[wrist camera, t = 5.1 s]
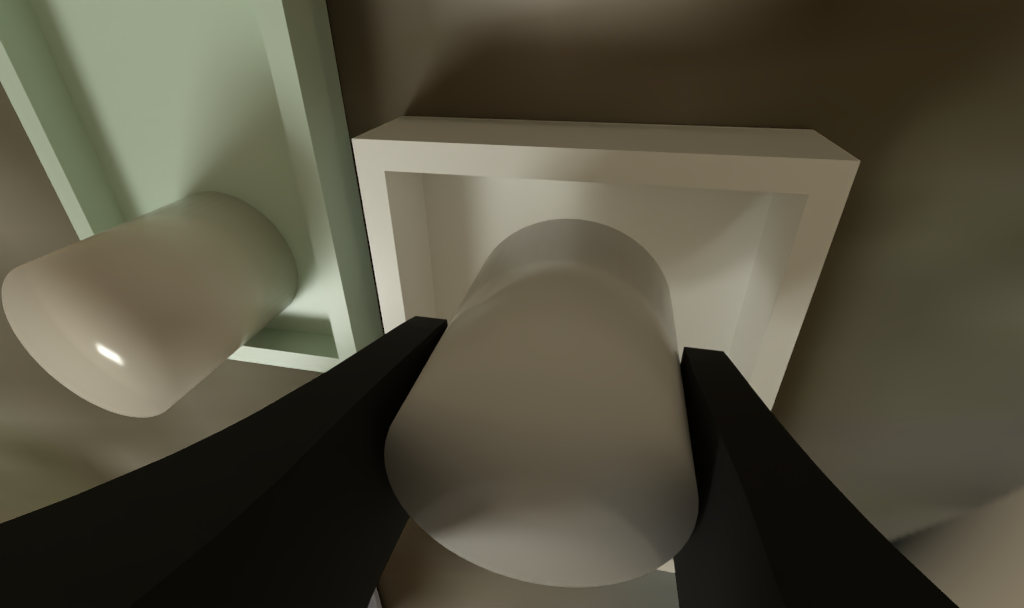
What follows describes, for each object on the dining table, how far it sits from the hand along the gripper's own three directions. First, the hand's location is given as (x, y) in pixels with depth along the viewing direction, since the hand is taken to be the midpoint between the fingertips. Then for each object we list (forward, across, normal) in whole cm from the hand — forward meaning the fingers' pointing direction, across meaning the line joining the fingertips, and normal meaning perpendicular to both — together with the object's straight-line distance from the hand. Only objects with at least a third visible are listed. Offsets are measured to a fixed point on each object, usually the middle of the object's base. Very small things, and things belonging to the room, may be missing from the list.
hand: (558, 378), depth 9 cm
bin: (+5, 0, +2) cm, 5 cm away
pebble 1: (+4, +10, 0) cm, 11 cm away
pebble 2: (+2, 0, 0) cm, 2 cm away
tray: (+5, +10, -2) cm, 11 cm away
